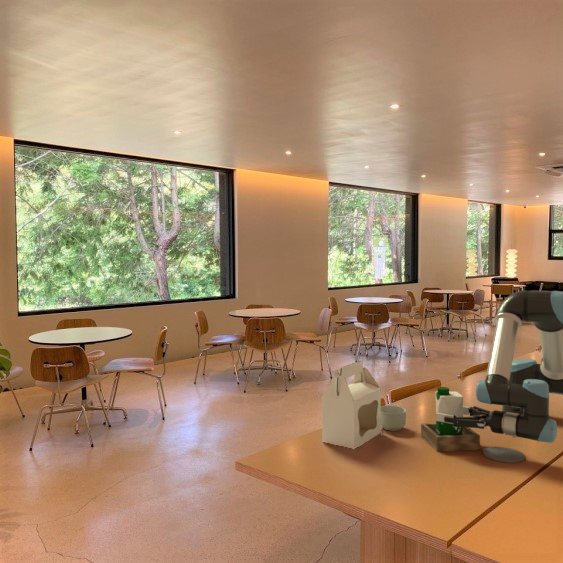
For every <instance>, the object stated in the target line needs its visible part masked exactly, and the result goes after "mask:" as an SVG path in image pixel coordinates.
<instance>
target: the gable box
mask: <svg viewBox="0 0 563 563" xmlns="http://www.w3.org/2000/svg"><path fill="white" fill-rule="evenodd" d="M336 371H337V374H338V375H337V376H335V377H334V378H333V380H332V381H331V383H330V384H329V386H328V387H327V389H326V390H325V391H324V393H323V394H322V396H321V401H322V402H321V403H322V406H321V408H322V410H321V411H322V412H321V416H322V418H321V420H322V421H321V423H322V424H321V425H322V429H321V430H322V431H321V432H322V443H323V442H327V443H332V444H336V445H341V446H345V447H349V448H352V449H351V450H356V449H358V448H359V447H360V446H362V445H364V444H366V443H367V442H369V441H371V440H372V439H373V438H375V437H377V436H378V435H380V434H381V433H382V426H381V404H382V402H381V401H382V399H381V398H382V397H381V396H382V395H381V394H382V393H381V388H380V386H379V385H378V383H377V381H376V380H375V378H374V377H373V375H372V374H371V373H370V371H369V370H368V369H367V368H366V367H364V363H363V361H362V360H359V361H356V362H352V363H351V364H347V365H344V366H341V367H340V369H337V370H336ZM353 376H354V378H353V379H352V382H351V383H350V384H348V382H347V380H346V379H348V378H351V377H353ZM365 442H366V443H365ZM327 443H326V444H327ZM336 445H335V446H336ZM345 447H344V448H345ZM357 447H358V448H357ZM349 448H348V449H349ZM355 448H356V449H355Z"/></svg>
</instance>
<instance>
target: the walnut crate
mask: <svg viewBox="0 0 563 563" xmlns="http://www.w3.org/2000/svg"><path fill="white" fill-rule="evenodd" d="M420 426H421V428H420V432H421V433H420V435H421V436H420V437H421V438H422V439H423V438H424V439H425V440H426V441H427V442H428V443H427V442H426V441H425V440H424V439H423V440H424V441H425V442H426V443H427V444H428V445H429V446H431V447H432V448H433V449H434V450H435V451H436V452H452V451H453V452H454V451H456V452H457V451H458V452H459V451H474V450H476V449H477V450H478V449H480V450H481V447H480V446H481V434H479V433H477V432H476V431H474V430H473V429H472V428H468V427H463V435H448V436H439V435H437V434H436V422H430V423H425V422H424V423H421V424H420ZM477 450H476V451H477Z"/></svg>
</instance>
